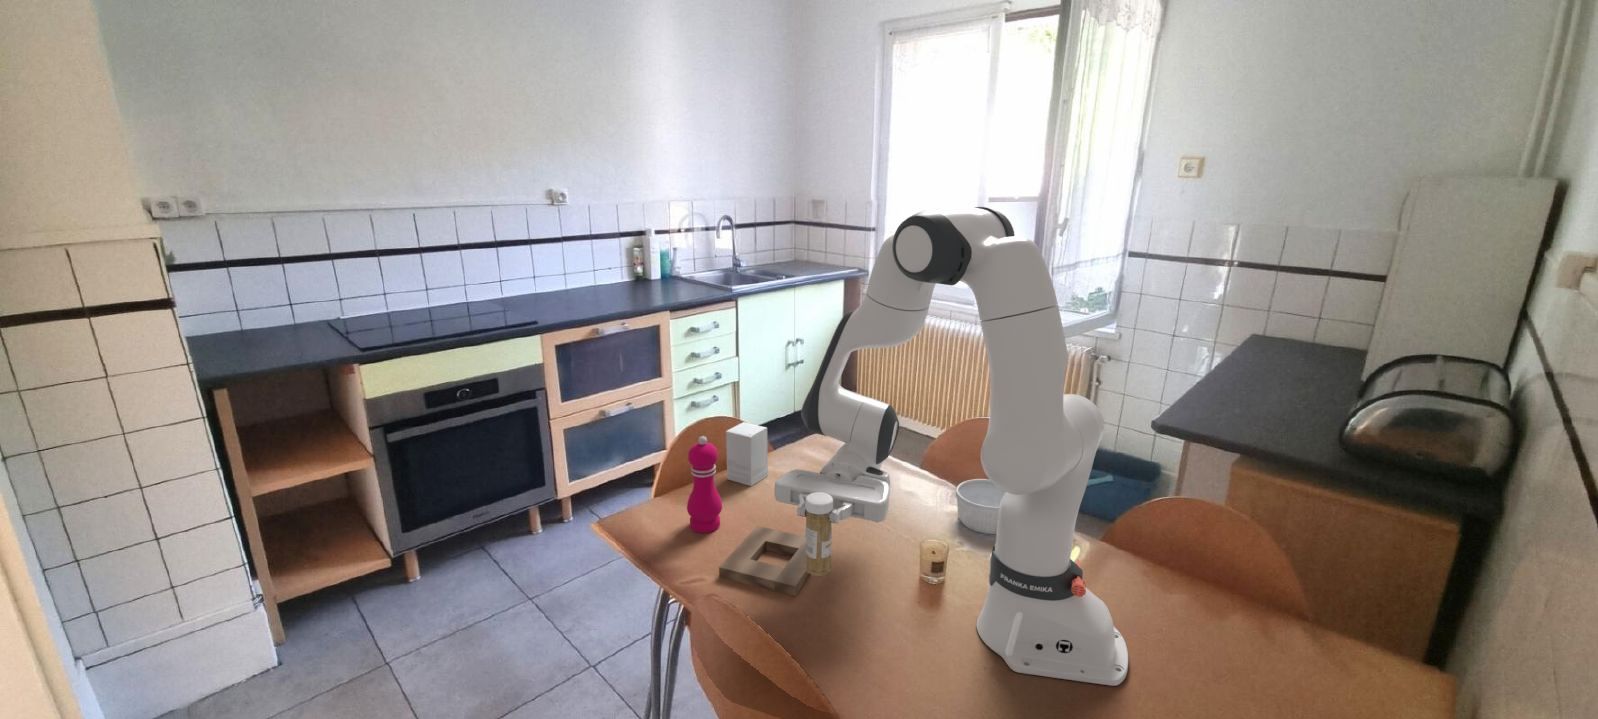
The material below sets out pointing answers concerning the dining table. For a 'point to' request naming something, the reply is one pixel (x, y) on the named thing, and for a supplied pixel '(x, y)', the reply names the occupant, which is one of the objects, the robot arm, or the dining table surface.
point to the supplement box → (747, 453)
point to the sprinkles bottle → (818, 533)
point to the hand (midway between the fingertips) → (817, 515)
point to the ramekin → (979, 505)
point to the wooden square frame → (762, 574)
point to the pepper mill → (704, 488)
